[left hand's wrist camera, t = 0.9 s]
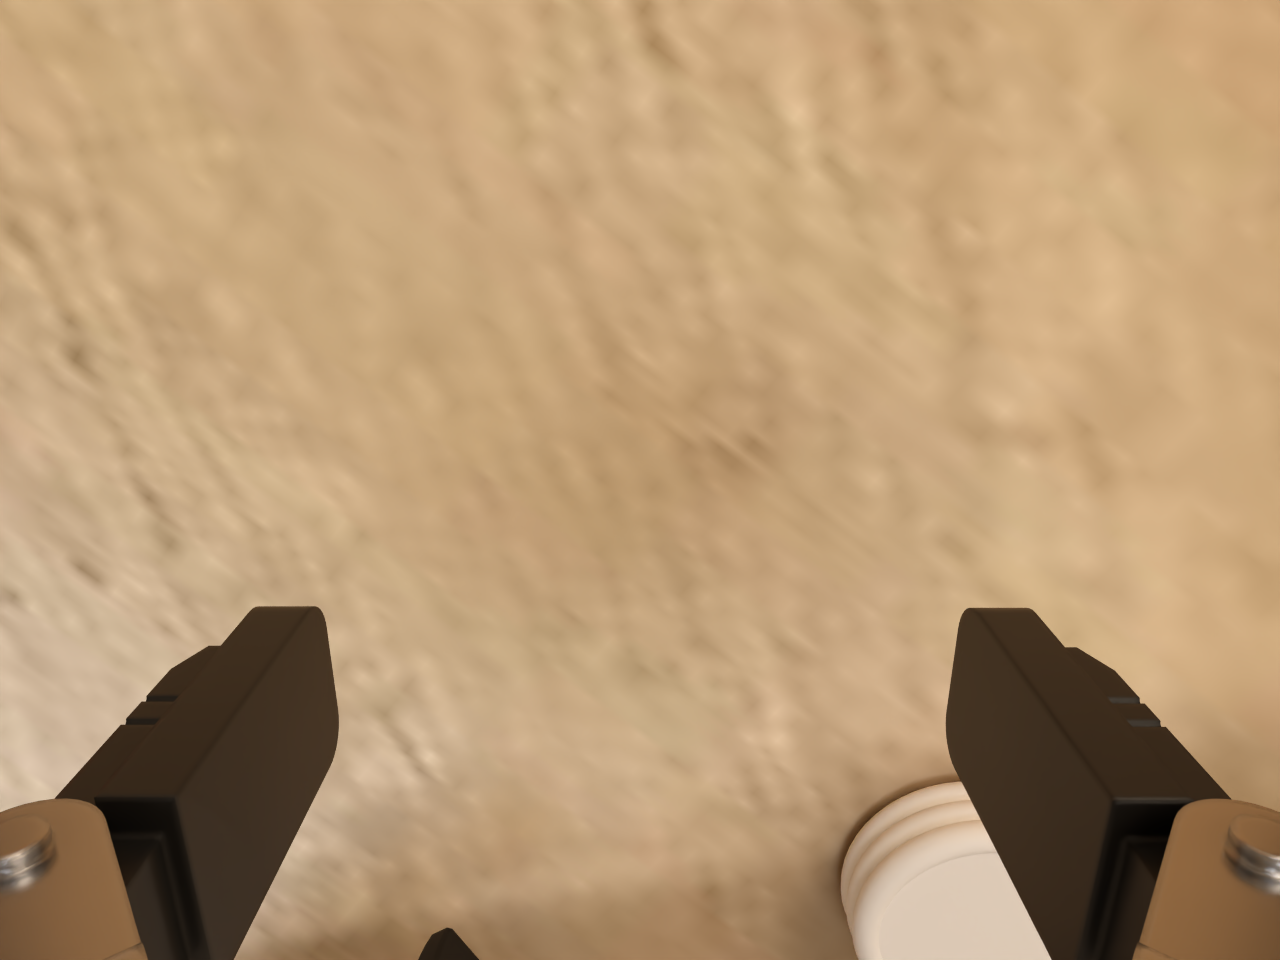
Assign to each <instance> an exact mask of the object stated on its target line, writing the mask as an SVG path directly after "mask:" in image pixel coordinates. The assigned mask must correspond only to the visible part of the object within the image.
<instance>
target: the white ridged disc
mask: <svg viewBox="0 0 1280 960" xmlns="http://www.w3.org/2000/svg"><path fill="white" fill-rule="evenodd" d="M841 897H842V903H843V907H844V910H845V913H846V915H847V922H848V925H849V929H850V932H851V935H852V937H853V944H854V948H855V951H856V955H857V957H858V959H859V960H1051V958H1050V956H1049V954H1048V952H1047V950H1046V948H1045V946H1044V944H1043V942H1042V940H1041V938H1040V936H1039V934H1038V932H1037V930H1036V928H1035V926H1034V924H1033V922H1032V920H1031V918H1030V916H1029V914H1028V912H1027V910H1026V908H1025V906H1024V904H1023V902H1022V900H1021V898H1020V896H1019V894H1018V893H1017V891H1016V889H1015V887H1014V885H1013V883H1012V881H1011V879H1010V877H1009V875H1008V873H1007V871H1006V869H1005V867H1004V865H1003V863H1002V861H1001V859H1000V857H999V855H998V853H997V851H996V849H995V847H994V845H993V843H992V841H991V839H990V837H989V835H988V833H987V831H986V829H985V827H984V825H983V823H982V821H981V819H980V817H979V815H978V814H977V812H976V810H975V808H974V806H973V804H972V802H971V800H970V798H969V796H968V794H967V792H966V790H965V788H964V786H963V784H962V782H951V783H943V784H938V785H934V786H929V787H926V788H923V789H920V790H917V791H914V792H912V793H910V794H907V795H905V796H903V797H901V798H899V799H897V800H895V801H894V802H892V803H890V804H889V805H887V806H886V807H884V808H883V809H882V810H880V811H879V812H878V813H876V814H875V815H874V816H873V817H872V818H871V819H870V820H869V821H868V822H867V823H866V824H865V825H864V826H863V827H862V829H861V830H860V831H859V832H858V834H857V835H856V837H855V838H854V840H853V842H852V843H851V845H850V847H849V849H848V852H847V854H846V856H845V859H844V863H843V868H842V874H841Z"/></svg>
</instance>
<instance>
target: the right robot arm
mask: <svg viewBox="0 0 1280 960" xmlns="http://www.w3.org/2000/svg"><path fill="white" fill-rule="evenodd" d="M419 960H479V959H478V958H477V957H476V956H475V955H474V953H473V952H472V951H471V950H470V949H469V948H468V946H467V945H466V944H465V943H464V942H463V941H462V940H461V938H460V937H459V936H458V935H457V934H456V933H455V932H454V930H453V929H451V928H445V929H443V930H441V931H439V932H437V933H435V934H433V935H432V936H431V937H430V939H429V941H428V942H427V944H426V945H425V947H424V949H423V951H422V953H421V955H420V957H419Z"/></svg>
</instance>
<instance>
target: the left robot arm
mask: <svg viewBox="0 0 1280 960" xmlns="http://www.w3.org/2000/svg"><path fill="white" fill-rule="evenodd" d="M338 730H339V715H338V706H337V699H336V692H335V684H334V677H333V670H332V663H331V656H330V648H329V641H328V634H327V627H326V622H325V618H324V615H323V613H322V611H321V610H320V609H319V608H318V607H315V606H259V607H255V608H253V609H252V610H251V611H250V612H249V613H248V614H247V615H246V616H245V618H244V619H243V620H242V621H241V622H240V624H239V625H238V626H237V627H236V628H235V630H234V631H233V632H232V633H231V634H230V635H229V637H228V638H227V639H226V640H225V641H224V643H223V644H222V645H221V646H208V647H206V648H204V649H203V650H201V651H200V652H198V653H196V654H195V655H193V656H191V657H190V658H188V659H187V660H185V661H183V662H182V663H180V664H178V665H177V666H175V667H174V668H172V669H171V670H170V671H169V672H168V673H167V674H166V675H165V676H164V677H163V678H162V680H161V681H160V682H159V683H158V684H157V685H156V686H155V687H154V688H153V690H152V691H151V692H150V693H149V694H148V695H147V700H146V702H141V703H140V704H139V705H138V706H137V707H136V709H135V710H134V711H133V712H132V713H131V714H130V715H129V716H128V717H127V719H126V724H125V725H120V726H119V727H118V729H117V730H116V731H115V732H114V733H113V734H112V735H111V736H110V737H109V739H108V740H107V741H106V742H105V743H104V744H103V745H102V746H101V747H100V749H99V750H98V751H97V752H96V753H95V754H94V755H93V756H92V758H91V759H90V760H89V761H88V762H87V763H86V764H85V765H84V766H83V768H82V769H81V770H80V771H79V772H78V773H77V774H76V775H75V776H74V778H73V779H72V780H71V781H70V782H69V783H68V784H67V785H66V786H65V788H64V789H63V790H62V791H61V792H60V793H59V794H58V795H57V796H56V798H55V799H50V800H42V801H37V802H32V803H28V804H24V805H20V806H17V807H14V808H11V809H8V810H5V811H3V812H0V960H234V958H235V956H236V954H237V952H238V950H239V948H240V946H241V944H242V942H243V940H244V938H245V936H246V934H247V932H248V930H249V928H250V926H251V924H252V922H253V920H254V918H255V916H256V914H257V912H258V910H259V908H260V906H261V904H262V902H263V900H264V898H265V896H266V894H267V892H268V890H269V888H270V886H271V884H272V882H273V880H274V878H275V876H276V874H277V872H278V870H279V868H280V866H281V864H282V862H283V860H284V858H285V856H286V854H287V852H288V850H289V848H290V846H291V844H292V842H293V840H294V838H295V836H296V834H297V832H298V830H299V828H300V826H301V824H302V822H303V820H304V818H305V816H306V814H307V812H308V810H309V808H310V806H311V804H312V802H313V800H314V798H315V796H316V794H317V792H318V790H319V788H320V786H321V784H322V782H323V780H324V778H325V776H326V774H327V772H328V770H329V768H330V766H331V763H332V761H333V758H334V755H335V751H336V746H337V740H338ZM946 737H947V744H948V749H949V754H950V758H951V761H952V764H953V766H954V768H955V770H956V772H957V774H958V776H959V778H960V780H961V782H962V784H963V786H964V788H965V790H966V792H967V794H968V796H969V798H970V800H971V802H972V804H973V806H974V808H975V810H976V812H977V814H978V815H979V817H980V819H981V821H982V823H983V825H984V827H985V829H986V831H987V833H988V835H989V837H990V839H991V841H992V843H993V845H994V847H995V849H996V851H997V853H998V855H999V857H1000V859H1001V861H1002V863H1003V865H1004V867H1005V869H1006V871H1007V873H1008V875H1009V877H1010V879H1011V881H1012V883H1013V885H1014V887H1015V889H1016V891H1017V893H1018V894H1019V896H1020V898H1021V900H1022V902H1023V904H1024V906H1025V908H1026V910H1027V912H1028V914H1029V916H1030V918H1031V920H1032V922H1033V924H1034V926H1035V928H1036V930H1037V932H1038V934H1039V936H1040V938H1041V940H1042V942H1043V944H1044V946H1045V948H1046V950H1047V952H1048V954H1049V956H1050V958H1051V960H1280V812H1277V811H1275V810H1272V809H1269V808H1266V807H1263V806H1260V805H1256V804H1252V803H1248V802H1243V801H1238V800H1232V799H1231V798H1230V797H1229V796H1228V795H1227V794H1226V793H1225V792H1224V791H1223V790H1222V788H1221V787H1220V786H1219V785H1218V784H1217V783H1216V782H1215V781H1214V780H1213V778H1212V777H1211V776H1210V775H1209V774H1208V773H1207V772H1206V771H1205V770H1204V769H1203V767H1202V766H1201V765H1200V764H1199V763H1198V762H1197V761H1196V760H1195V759H1194V758H1193V756H1192V755H1191V754H1190V753H1189V752H1188V751H1187V750H1186V749H1185V748H1184V746H1183V745H1182V744H1181V743H1180V742H1179V741H1178V740H1177V739H1176V738H1175V737H1174V735H1173V734H1172V733H1171V732H1170V731H1169V730H1168V729H1167V728H1166V727H1161V725H1160V720H1159V719H1158V718H1157V717H1156V716H1155V715H1154V713H1153V712H1152V711H1151V710H1150V709H1149V708H1148V707H1147V706H1146V705H1145V704H1140V698H1139V697H1138V696H1137V695H1136V694H1135V692H1134V691H1133V690H1132V689H1131V688H1130V687H1129V686H1128V685H1127V684H1126V683H1125V681H1124V680H1123V679H1122V678H1121V677H1120V676H1119V675H1118V674H1117V673H1116V671H1114V670H1113V669H1111V668H1109V667H1108V666H1106V665H1105V664H1103V663H1101V662H1100V661H1098V660H1096V659H1095V658H1093V657H1091V656H1090V655H1088V654H1087V653H1085V652H1083V651H1082V650H1080V649H1078V648H1077V647H1064V646H1063V645H1062V643H1061V642H1060V641H1059V640H1058V639H1057V637H1056V636H1055V635H1054V634H1053V633H1052V632H1051V630H1050V629H1049V628H1048V627H1047V626H1046V625H1045V623H1044V622H1043V621H1042V620H1041V619H1040V617H1039V616H1038V615H1037V614H1036V613H1035V612H1034V611H1033V610H1032V609H1030V608H968V609H966V610H965V611H964V613H963V614H962V616H961V619H960V622H959V627H958V634H957V641H956V648H955V655H954V662H953V670H952V677H951V684H950V691H949V698H948V705H947V713H946Z"/></svg>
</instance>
